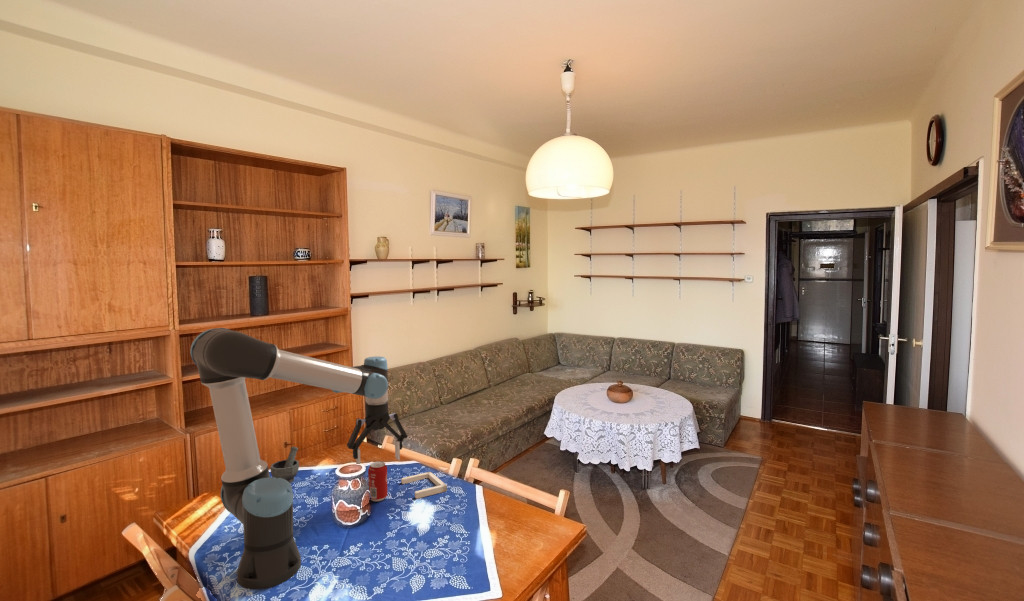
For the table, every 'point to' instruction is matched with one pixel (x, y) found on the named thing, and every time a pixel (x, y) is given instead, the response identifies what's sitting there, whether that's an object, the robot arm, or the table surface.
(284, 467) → the mortar and pestle
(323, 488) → the table surface
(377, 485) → the beverage can
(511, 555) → the table surface
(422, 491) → the u-shaped wooden frame
